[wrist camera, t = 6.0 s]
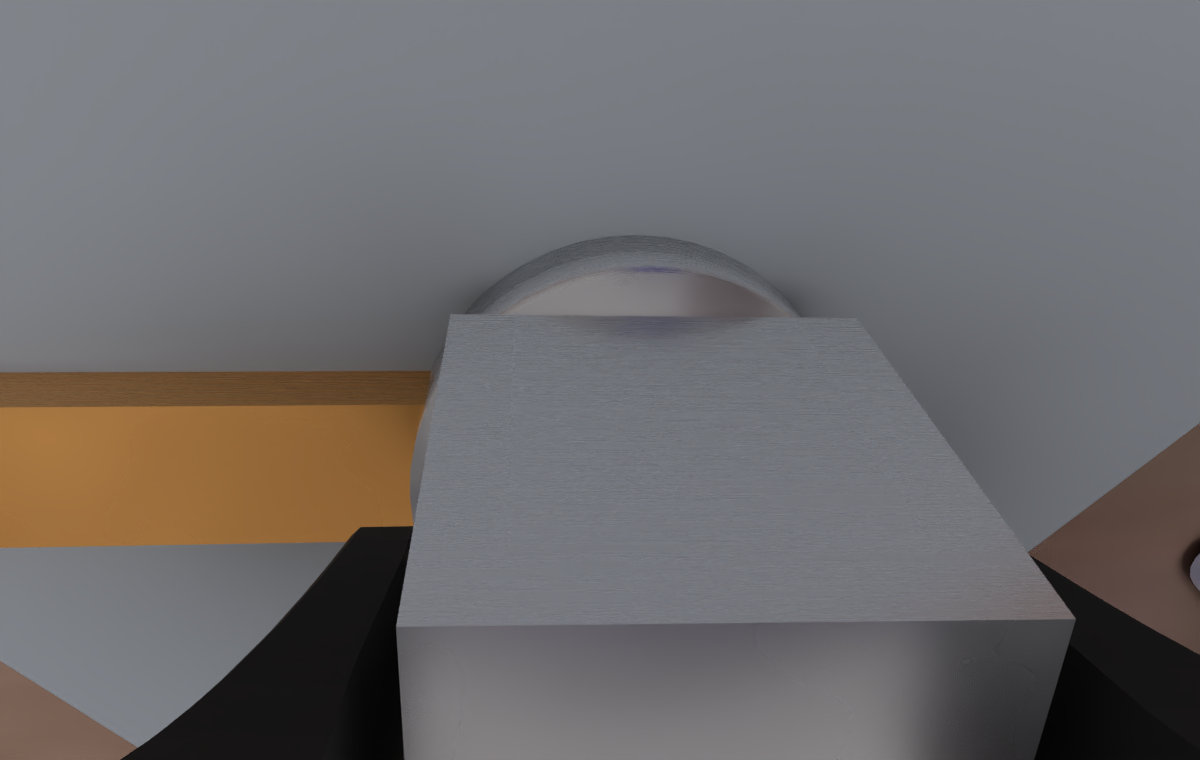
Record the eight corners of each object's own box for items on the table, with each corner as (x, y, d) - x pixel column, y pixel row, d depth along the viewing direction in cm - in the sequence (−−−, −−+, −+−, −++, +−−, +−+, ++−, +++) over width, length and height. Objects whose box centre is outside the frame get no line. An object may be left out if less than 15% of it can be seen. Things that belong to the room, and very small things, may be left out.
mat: (1473, 188, 16) (1501, 196, 16) (482, 940, 21) (481, 963, 21) (657, -1252, 10) (664, -1308, 9) (-494, 316, 15) (-528, 329, 14)
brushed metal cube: (856, 318, 13) (1076, 619, 8) (806, 636, 16) (951, 1036, 10) (450, 314, 13) (396, 626, 8) (460, 640, 15) (422, 1057, 10)
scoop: (-34, 620, 17) (-259, 906, 12) (-135, 229, 14) (-476, 390, 9) (807, 601, 18) (919, 855, 13) (855, 236, 15) (1015, 383, 10)
